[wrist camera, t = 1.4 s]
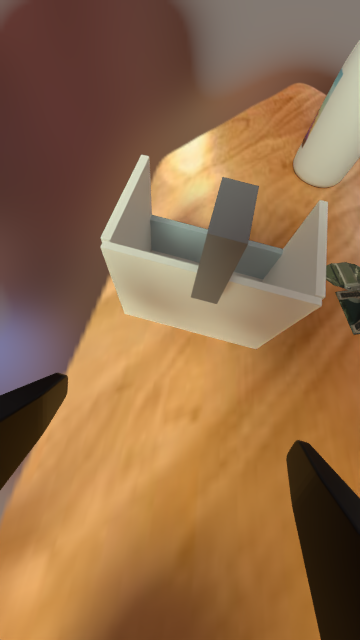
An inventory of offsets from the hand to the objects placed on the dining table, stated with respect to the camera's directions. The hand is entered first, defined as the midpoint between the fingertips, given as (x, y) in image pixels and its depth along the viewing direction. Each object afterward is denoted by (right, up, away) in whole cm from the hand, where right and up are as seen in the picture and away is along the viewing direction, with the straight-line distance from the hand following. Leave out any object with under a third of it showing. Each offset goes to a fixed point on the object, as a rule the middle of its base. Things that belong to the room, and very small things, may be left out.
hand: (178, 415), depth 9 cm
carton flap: (+1, +2, +14) cm, 14 cm away
